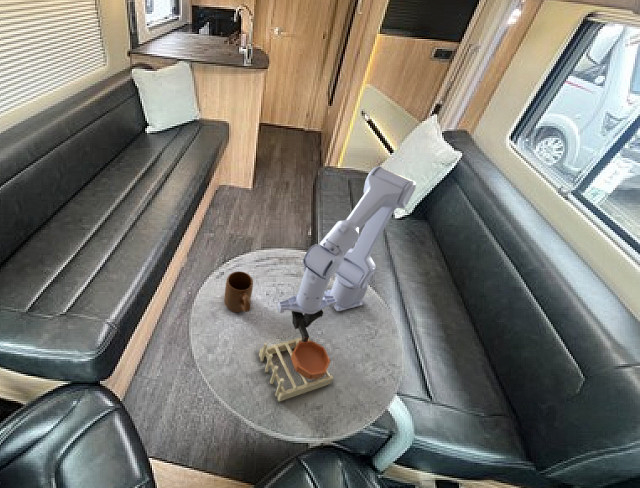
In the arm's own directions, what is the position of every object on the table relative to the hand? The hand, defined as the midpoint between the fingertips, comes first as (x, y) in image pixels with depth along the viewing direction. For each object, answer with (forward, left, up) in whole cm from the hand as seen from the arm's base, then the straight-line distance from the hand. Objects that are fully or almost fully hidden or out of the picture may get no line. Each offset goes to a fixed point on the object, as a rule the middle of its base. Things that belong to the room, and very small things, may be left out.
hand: (299, 324), depth 83 cm
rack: (+4, +7, -6) cm, 11 cm away
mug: (+11, -14, -7) cm, 19 cm away
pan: (+1, +5, -3) cm, 6 cm away
